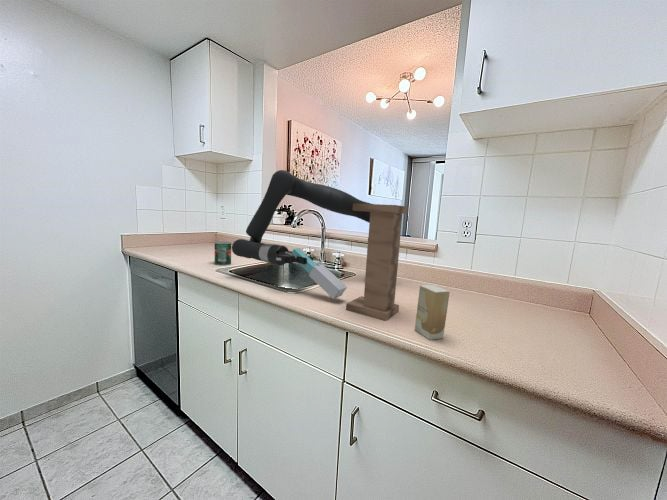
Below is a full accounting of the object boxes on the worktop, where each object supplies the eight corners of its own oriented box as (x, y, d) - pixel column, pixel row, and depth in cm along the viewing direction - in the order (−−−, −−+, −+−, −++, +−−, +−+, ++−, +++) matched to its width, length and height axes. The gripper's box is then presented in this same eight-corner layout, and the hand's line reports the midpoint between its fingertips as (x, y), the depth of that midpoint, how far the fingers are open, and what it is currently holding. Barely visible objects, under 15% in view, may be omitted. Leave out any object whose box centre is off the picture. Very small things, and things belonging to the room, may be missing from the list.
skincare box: (413, 329, 72) (418, 284, 71) (427, 328, 74) (432, 283, 72) (430, 341, 67) (435, 291, 65) (444, 339, 68) (450, 290, 66)
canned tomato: (212, 263, 140) (212, 241, 139) (227, 262, 146) (227, 241, 144) (217, 266, 135) (217, 243, 133) (233, 264, 140) (233, 243, 138)
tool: (288, 255, 99) (293, 246, 97) (297, 254, 103) (302, 245, 101) (333, 299, 90) (339, 290, 88) (341, 295, 94) (347, 287, 92)
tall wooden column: (361, 301, 93) (368, 205, 88) (398, 311, 86) (408, 206, 82) (345, 309, 84) (352, 203, 80) (385, 320, 78) (396, 205, 73)
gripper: (260, 245, 100) (296, 251, 91) (286, 243, 111) (321, 248, 102) (259, 266, 101) (295, 274, 92) (286, 261, 112) (320, 268, 103)
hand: (309, 260), depth 97 cm, fingers closed on tool, 3 cm apart
